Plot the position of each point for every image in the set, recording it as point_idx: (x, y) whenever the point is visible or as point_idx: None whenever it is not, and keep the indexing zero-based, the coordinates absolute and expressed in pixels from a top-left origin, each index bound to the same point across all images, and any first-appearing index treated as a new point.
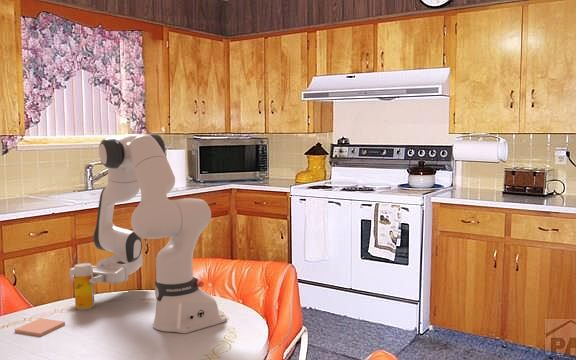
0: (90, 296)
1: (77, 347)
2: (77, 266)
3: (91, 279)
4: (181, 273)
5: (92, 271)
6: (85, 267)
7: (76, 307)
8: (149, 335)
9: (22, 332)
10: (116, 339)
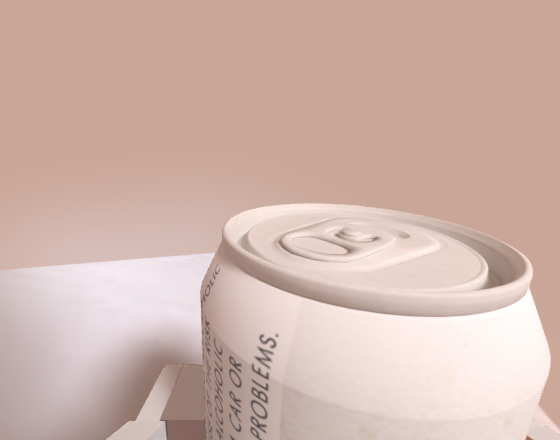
0: None
1: (123, 274)
2: (368, 222)
3: (176, 367)
4: None
5: (206, 379)
6: (249, 224)
7: None
8: None
9: None
10: (11, 306)
